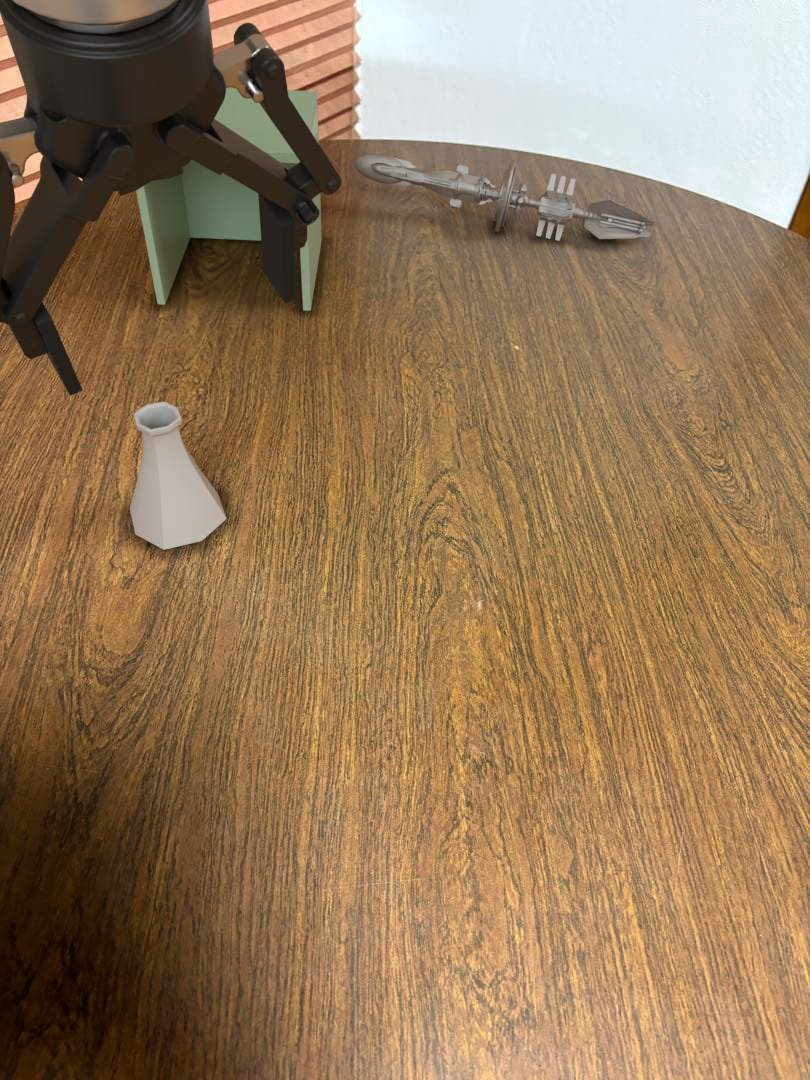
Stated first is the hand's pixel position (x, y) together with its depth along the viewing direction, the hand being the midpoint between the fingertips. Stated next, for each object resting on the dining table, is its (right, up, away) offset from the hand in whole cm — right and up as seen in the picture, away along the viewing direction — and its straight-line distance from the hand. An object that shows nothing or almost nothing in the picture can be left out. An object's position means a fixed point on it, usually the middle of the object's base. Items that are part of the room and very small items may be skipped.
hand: (177, 328), depth 50 cm
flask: (-4, -11, +17) cm, 20 cm away
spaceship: (+25, +24, +51) cm, 62 cm away
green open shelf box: (-4, +16, +42) cm, 45 cm away
